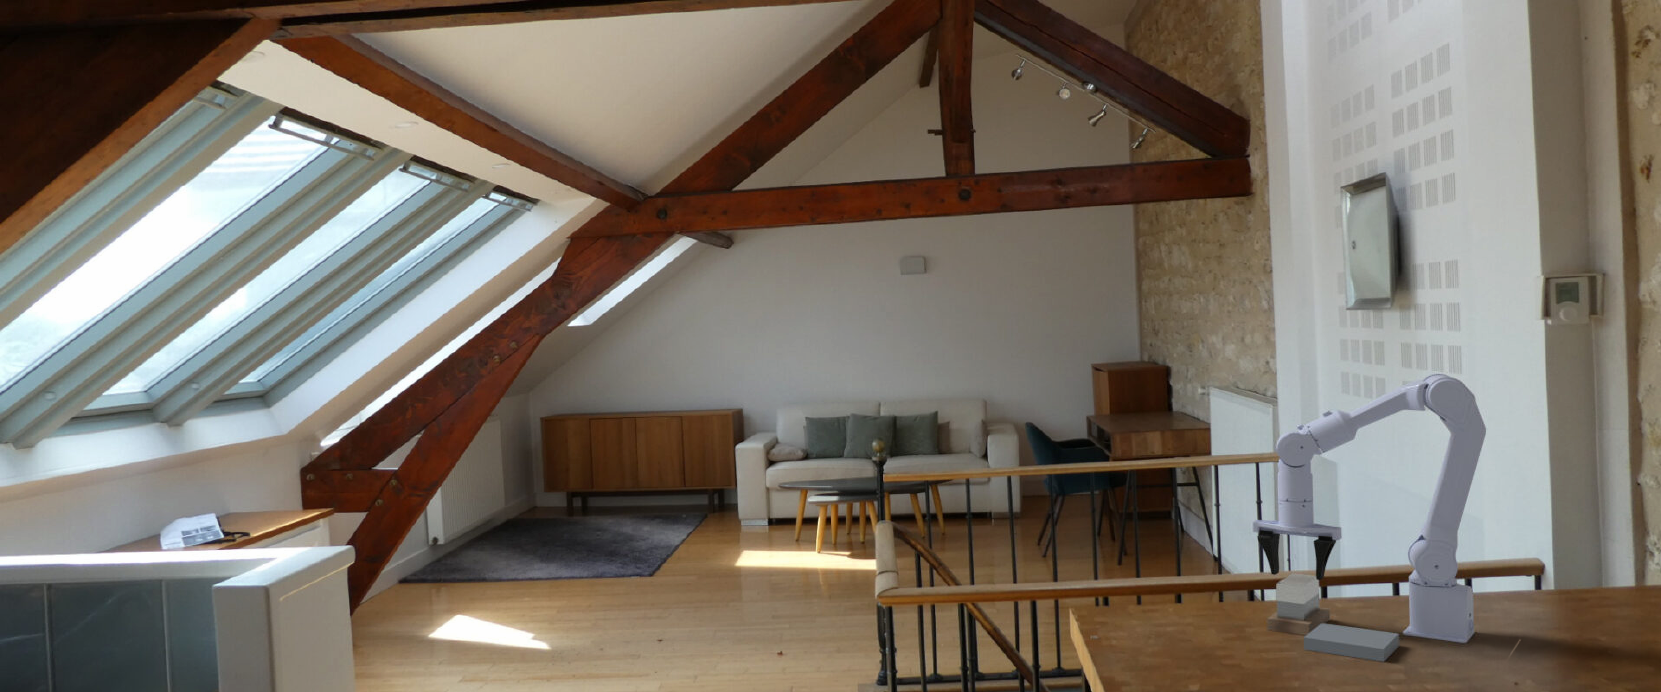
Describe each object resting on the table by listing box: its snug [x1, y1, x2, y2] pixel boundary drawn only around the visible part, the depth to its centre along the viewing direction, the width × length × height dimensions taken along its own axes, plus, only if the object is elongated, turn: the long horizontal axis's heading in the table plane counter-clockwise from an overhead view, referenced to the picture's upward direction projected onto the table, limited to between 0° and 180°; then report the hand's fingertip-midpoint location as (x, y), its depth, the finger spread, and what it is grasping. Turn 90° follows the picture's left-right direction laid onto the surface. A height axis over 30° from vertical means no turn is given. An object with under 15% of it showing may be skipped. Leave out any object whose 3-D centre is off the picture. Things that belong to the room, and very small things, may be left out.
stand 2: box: [1303, 623, 1400, 662], centre depth 181 cm, size 12×10×2 cm
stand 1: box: [1266, 607, 1331, 637], centre depth 195 cm, size 7×12×2 cm, turn 140°
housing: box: [1275, 572, 1321, 621], centre depth 195 cm, size 4×9×6 cm, turn 140°
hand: (1297, 576), depth 195 cm, fingers open, 7 cm apart
